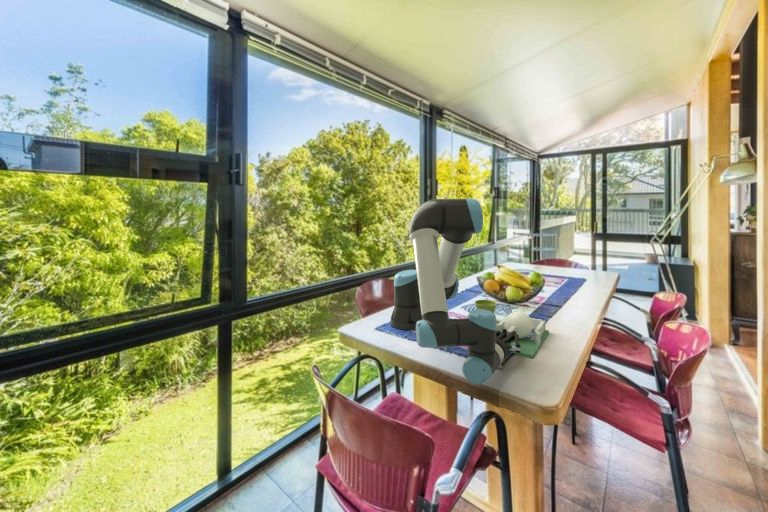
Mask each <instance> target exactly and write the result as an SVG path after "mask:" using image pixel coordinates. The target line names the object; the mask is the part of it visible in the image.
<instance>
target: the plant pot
mask: <svg viewBox="0 0 768 512" xmlns="http://www.w3.org/2000/svg"><path fill="white" fill-rule="evenodd" d="M474 305H475V307H476V308H475V309H484V310H488V311H491V312H493V313H494V314H495V311H496V308H497V305H498V302H497V301H495V300H492V299H477V300H475V301H474Z"/></svg>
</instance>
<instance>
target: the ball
mask: <svg viewBox="0 0 768 512" xmlns="http://www.w3.org/2000/svg"><path fill="white" fill-rule="evenodd" d="M508 314H509V315H508ZM508 314H507V315H508V316H507V315H506V316H507V317H506V316H505V317H506V319H505V323H504V325H505V329H506V330H508V329H509V328H510V327H511V326H516V334H518V335H519V339H522V338H526V339H527V337H529V336H530V335H531V334H532V332H533V331H532V330H533V323H532V320H531V317H530V316H529V315H528V314H526V313H525V312H524V311H513V312H511V313H508Z"/></svg>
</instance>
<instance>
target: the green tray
mask: <svg viewBox="0 0 768 512" xmlns="http://www.w3.org/2000/svg"><path fill="white" fill-rule="evenodd" d="M509 314H510V313H508V314H507V315H506V316H505V317H504V318H502V320H501V321H500V322H498V323H496V328H497V330H496V331H500V332H503V329H505V325H504V323H505V319H506V317H507V316H508V315H509ZM530 318H531V317H530ZM531 320H532V323H533V330H532V332H533V336H532V337H533V338H532V339H531V338H527V337H526V338H522V339H519V344H520V353H517V352H516V351H512V353H514V354H513V355H515V354H516V356H521V357H525V358H529V359H534V357H535V356H536V354H537V352H538V351H539V350H540V348H541V346H542V344H543V343H544V341H545V339H546V338H547V336H548V334H549V333H550V332H549V330H548V329H546V320H545V319H540V318H539V319H538V318H533V317H532V318H531ZM514 343H515V340H514V342H512V343H511V344H510V345H511V346H513V345H514Z"/></svg>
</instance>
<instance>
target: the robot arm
mask: <svg viewBox="0 0 768 512" xmlns="http://www.w3.org/2000/svg"><path fill="white" fill-rule="evenodd" d="M483 227H484V214H483V208H482V205H481V203H480V201H479V200H477V199H475V198H467V197H466V198H433V199H429V200H426V201H424V202H423V203H422V204H421V205H420V206H419V207H417V209H416V210H415V211H414V212H413V214H412V217H411V218H410V222H409V226H408V237H409V238H408V239H409V242H411V243H412V244H413V253H414V261H415V262H414V263H415V269H407V270H402V271H399V272H397V273H396V274H395V275H394V278H393V289H394V290H393V294H394V298H393V301H394V307H393V310H392V313H391V315H390V325H391V327H393V328H395V329H398V330H407V331H408V330H409V331H410V330H415V338H416V343H417V345H418V347H420V348H426V349H427V348H430V349H431V348H432V349H437V348H449V347H453V348H454V347H467V357H466V359H465V360H464V362H463V364H462V369H461V371H462V374H463V376H464V378H465V379H466V380H467V381H468V382H470V383H472V384H475V385H483V384H485V383H486V382H487V381H488V380H489V379H491V378H492V376H493V375H494V373H495V372H496V371H497V369H498V368H499V366H500V365H502V363H503V362H504V361H505V359H506V358H507V357H508V355H509V354H511V352H512V351H516V352H517V353H520V344H519V335H518V334H516V326H511V327H510V328H509V329H508V330H506V329H503V332H500V331H496V330H497V328H496V324H497V317H496V314H495V312H494V313H493V312H491V311H488V310H484V309H477V308H475V309H472V310H469V311H468V314H467V318H450V316H449V309H448V303H447V300H452V299H455V297H456V296H457V294H458V292H459V286H460V282H459V281H460V280H459V276H458V275H457V274H456V269H457V267H458V264H459V261H460V259H461V256H462V253H463V249H464V248H465V244H466V243H468V242H469V241H470V240H471V239H472V238H473V234H475V235H478V234H480V233H482V231H483ZM440 237H441V239H440V243H439V245H438V240H439V238H440ZM514 340H515V343H514V345H513V346H511V345H510V344H511V343H512V342H514Z"/></svg>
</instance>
